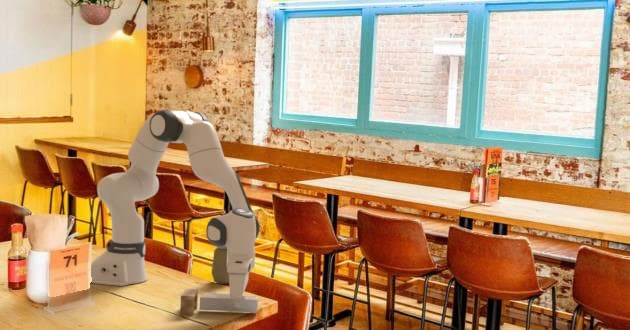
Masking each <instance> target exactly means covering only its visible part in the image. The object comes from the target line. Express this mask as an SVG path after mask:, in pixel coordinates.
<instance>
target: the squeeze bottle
mask: <svg viewBox="0 0 630 330" xmlns="http://www.w3.org/2000/svg"><path fill="white" fill-rule="evenodd" d="M226 265H227V247H226V246H216V248H215V249H214V251H213V259H212V266H211V275H212V278H213V279H212V280H213V282H214V283H216V284H222V285H223V284H224V285H225V284H229V273H228V272H227V266H226Z"/></svg>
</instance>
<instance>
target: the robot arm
mask: <svg viewBox="0 0 630 330" xmlns="http://www.w3.org/2000/svg"><path fill="white" fill-rule="evenodd" d="M170 143H173V144H174V143H175V144H183V143H184V145H185V146H186V149H187V154H188V159H189V163H190V167H191V170H192V171H193V173H194V175H195V176H196V177H197V178H198V179H200V180H202V181H204V182H207V183H210V184H213V185H215V186H217V187H220V188H221V189H223V191H224V192H225V193H226V195H227V197H228V200H229V202H230V205H231V208H232V209H231V210H230V211H229V212H228V213H225V214H222V215H219V216H214V217H212V218H211V219H210V220H209V221H208V222H207V224H206V230H205V231H206V238H207V240H208V241H209V243H211V244H212V245H213V246H215V247H217V246H226V247H227V265H226V266H227V272H228V273H229V283H228V284H229V285H228V287H229V294H230V296H231V298H235V307H241V298H242V296H244V293H245V290H246V287H247V285H248V282H249V274H250V273H251V270H252V269H254V268H255V266H256V265H255V264H256V250H255V249H256V248H255V243H256V240H257V238H258V237H259V233H260V230H261V226H260V221H259V219H258V218H257V216H256V215H255V213H254V211H253V209H252V207H251V204H250V202H249V200H248V197H247V194H246V191H245V190H244V185H243V184H242V182H241V179H240V177H239V175H238V173H237V172H236V170H235V168H233V167H232V166H231V165H230V163H229V162H228V161H227V159H226V157H225V154H224V152H223V148H222V144H221V141H220V138H219V136H218V133H217V131H216V129H215V127H214V125H213V124H212V123H211V122H210V121H209V119H208V118H207V116H205V114H203V113H200V112H199V111H191V110H185V109H171V110H170V109H162V110H158V111H156V112H153V113H152V114H150V115H149V116H148V117H147V118H146V120H145V121H144V123H143V124H142V125H141V127H140V129H139V130H138V132H137V134H136V136H135V138H134V139H133V142H132V144H131V146H130V148H129V150H128V153H127V158H128V160H129V162H130V163H131V164H130V167H129V169H128V170H126V171H124V172H115V173H111V174H109V175H106V176H105V177H102V178H101V179H100V180H99V181H98V183H97V187H96V191H97V196H98V198H99V200H100V201H101V202H102V203H103V204H105V205H106V207H107V209H108V211H109V213H110V219H111V238H110V239H108V241H107V242H106V243H105V249H106V250H105V251H104V252H102V253H101V254H100V255H99V256H97V257H96V258H94V259H93V261H92V262H91V264H90V266H91V277H92V283H91V284H97V285H98V284H99V285H106V286H107V285H111V286H116V287H123V286H127V285H132V284H140V283H143V282H145V281H147V280H148V278H149V276H148V274H147V270H146V263H145V255H146V240H145V219H144V218H143V216H142V215H141V214H139V213H138V212H137V209H136V203H135V202H141V201H145V200H148V199H150V198H152V197H154V196H155V195H156V194H158V191H159V190H160V189H159V188H160V181H159V178H158V176H157V169H158V167H159V165H160V162H161V160H162V158H163V156H164V154H165V152H166V150H167V148H168V146H169V144H170Z"/></svg>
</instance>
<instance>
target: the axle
mask: <svg viewBox="0 0 630 330" xmlns="http://www.w3.org/2000/svg"><path fill="white" fill-rule="evenodd" d="M217 294H218V293H216V294H211V293H201V294H200V296H199V310H201V311H219V312H222V311H223V312H240V313H257V312H258V310H259V309H258V308H259V296H253V295H243V296H242V298H241V307H235V298H231V296H230V295H217Z"/></svg>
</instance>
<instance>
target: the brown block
mask: <svg viewBox="0 0 630 330" xmlns="http://www.w3.org/2000/svg"><path fill="white" fill-rule="evenodd" d="M198 293H199V290H198V289H197V288H185V289H184V291H183V292H182V293H181V295H180V314H179V315H180V316H194V315H195V310H197V309H198V301H199V300H198V297H199V294H198Z"/></svg>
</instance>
